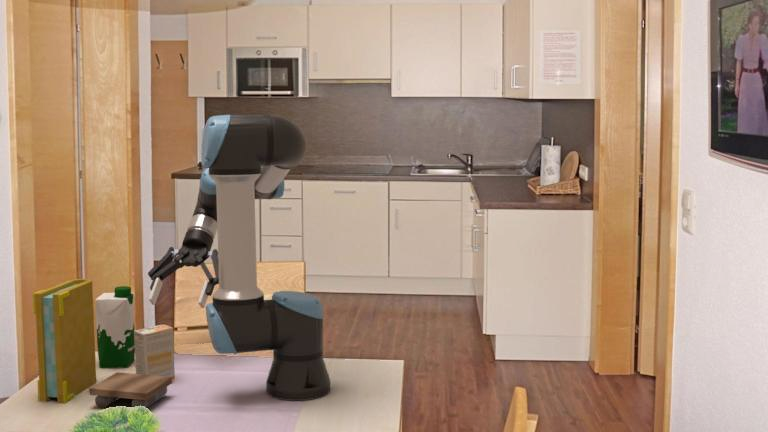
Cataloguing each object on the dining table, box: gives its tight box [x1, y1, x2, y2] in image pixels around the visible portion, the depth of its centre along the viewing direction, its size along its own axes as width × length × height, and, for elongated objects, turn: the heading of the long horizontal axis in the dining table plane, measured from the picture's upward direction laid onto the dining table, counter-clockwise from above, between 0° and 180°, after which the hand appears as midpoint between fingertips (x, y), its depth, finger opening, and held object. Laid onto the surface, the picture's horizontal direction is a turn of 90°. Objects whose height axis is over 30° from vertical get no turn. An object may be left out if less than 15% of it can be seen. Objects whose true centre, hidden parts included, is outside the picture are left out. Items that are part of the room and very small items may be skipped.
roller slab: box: [88, 372, 173, 409], centre depth 210 cm, size 14×12×4 cm
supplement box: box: [134, 324, 176, 380], centre depth 224 cm, size 8×5×13 cm, turn 135°
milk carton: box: [94, 285, 136, 369], centre depth 237 cm, size 9×9×20 cm
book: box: [32, 278, 97, 404], centre depth 216 cm, size 17×7×25 cm, turn 168°
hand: (176, 303), depth 235 cm, fingers open, 13 cm apart
